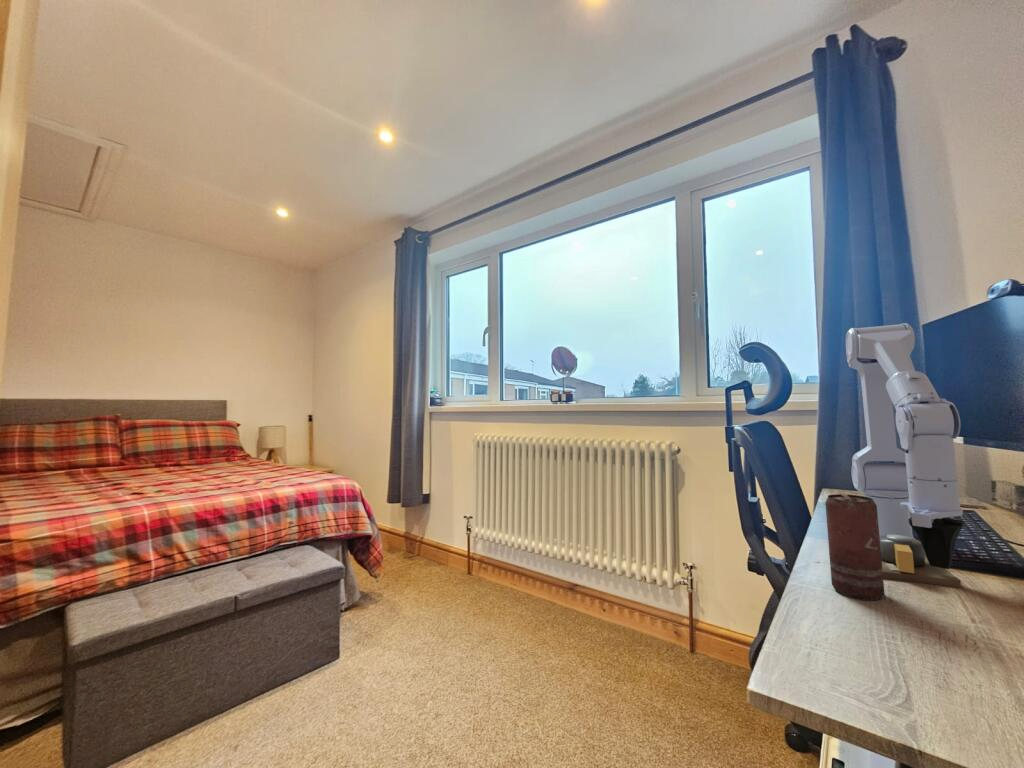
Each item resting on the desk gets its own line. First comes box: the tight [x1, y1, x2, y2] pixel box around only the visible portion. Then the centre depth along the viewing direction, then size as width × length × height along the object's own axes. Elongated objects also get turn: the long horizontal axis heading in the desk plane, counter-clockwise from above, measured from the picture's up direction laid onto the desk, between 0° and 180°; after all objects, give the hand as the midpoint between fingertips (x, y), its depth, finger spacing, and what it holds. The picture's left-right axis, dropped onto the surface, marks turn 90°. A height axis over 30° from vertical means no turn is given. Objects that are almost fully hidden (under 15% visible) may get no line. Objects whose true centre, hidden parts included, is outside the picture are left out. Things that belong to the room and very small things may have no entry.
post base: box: [881, 554, 962, 588], centre depth 72 cm, size 14×10×1 cm
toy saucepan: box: [879, 535, 925, 573], centre depth 71 cm, size 10×6×4 cm, turn 143°
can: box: [824, 493, 885, 601], centre depth 64 cm, size 6×6×14 cm
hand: (940, 566), depth 66 cm, fingers closed
